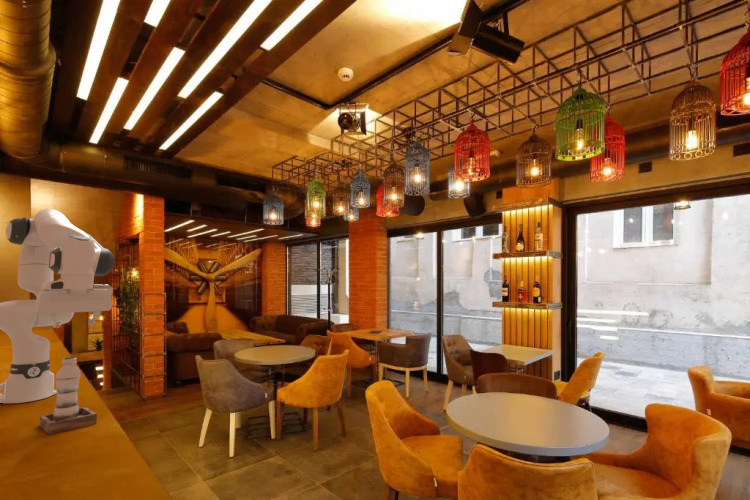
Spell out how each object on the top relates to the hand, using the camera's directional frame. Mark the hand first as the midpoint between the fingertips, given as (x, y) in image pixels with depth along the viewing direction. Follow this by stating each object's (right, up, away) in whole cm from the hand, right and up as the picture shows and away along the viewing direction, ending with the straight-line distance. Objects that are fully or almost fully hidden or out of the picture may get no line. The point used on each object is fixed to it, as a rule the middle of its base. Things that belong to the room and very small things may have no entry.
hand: (74, 326), depth 127 cm
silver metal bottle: (-1, -30, -3) cm, 30 cm away
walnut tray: (0, -31, -3) cm, 31 cm away
